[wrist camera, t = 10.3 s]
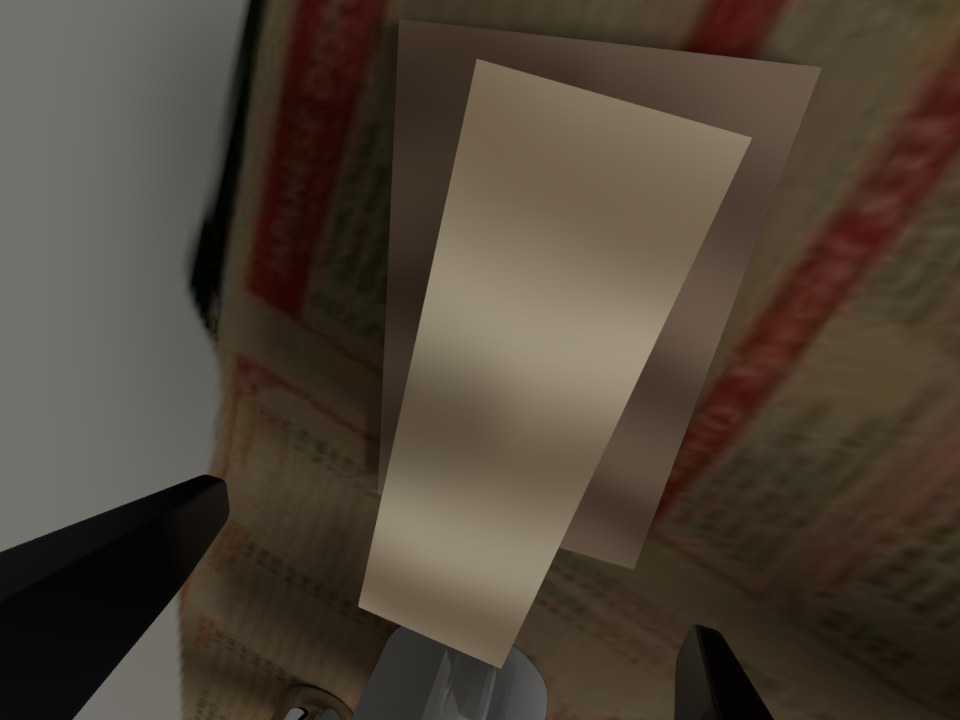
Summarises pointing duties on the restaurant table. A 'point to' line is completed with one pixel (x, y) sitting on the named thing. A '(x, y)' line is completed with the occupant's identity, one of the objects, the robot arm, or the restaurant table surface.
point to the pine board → (531, 341)
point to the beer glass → (309, 705)
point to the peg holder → (711, 279)
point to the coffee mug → (449, 684)
